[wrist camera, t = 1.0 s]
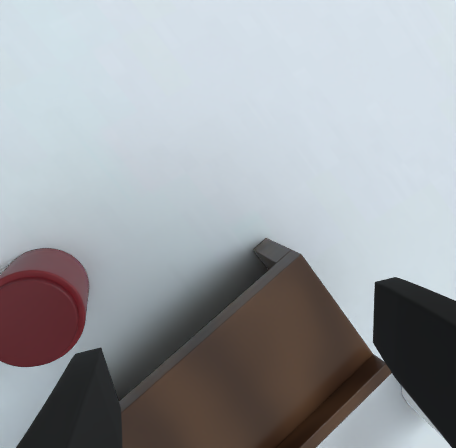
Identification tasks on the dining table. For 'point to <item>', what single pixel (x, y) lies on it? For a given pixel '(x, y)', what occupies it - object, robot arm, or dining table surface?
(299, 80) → the dining table surface
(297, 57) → the dining table surface
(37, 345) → the red lidded jar
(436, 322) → the robot arm
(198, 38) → the dining table surface
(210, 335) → the shelf
